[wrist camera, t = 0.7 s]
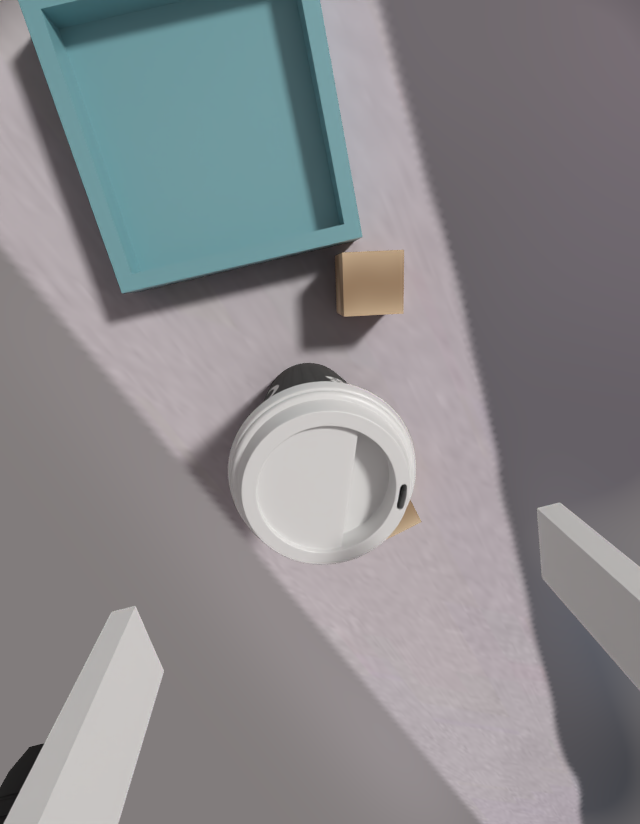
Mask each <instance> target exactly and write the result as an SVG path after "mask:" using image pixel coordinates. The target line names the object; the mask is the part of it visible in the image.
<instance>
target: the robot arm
mask: <svg viewBox="0 0 640 824" xmlns="http://www.w3.org/2000/svg"><path fill="white" fill-rule="evenodd" d="M537 517H538V530H539V543H540V558H541V571H542V579H543V580H544V581H545V582H546V583H547V584H548V585H549V587H550V588H551V589H552V590H553V591H554V592H555V594H556V595H557V596H558V597H559V598H560V599H561V600H562V601H563V603H564V604H565V605H566V606H567V607H568V609H570V611H571V612H572V613H573V614H574V615H575V617H576V618H577V619H578V620H579V621H580V622H581V623H582V625H583V626H584V627H585V628H586V629H587V630H588V632H589V633H590V634H591V635H592V636H593V637H594V638H595V639H596V641H597V642H598V643H599V644H600V645H601V646H602V647H603V649H604V650H605V651H606V652H607V653H608V654H609V656H610V657H611V658H612V659H613V660H614V661H615V663H616V664H617V665H618V666H619V667H620V668H621V670H622V671H623V672H624V673H625V674H626V675H627V676H628V678H629V679H630V680H631V681H632V682H633V683H634V684H635V686H636V687H637V688H638V689H639V690H640V567H639V566H638V565H637V564H636V563H634V562H633V561H632V560H631V559H629V558H628V557H627V556H625V555H624V554H623V553H622V552H620V551H619V550H618V549H617V548H616V547H614V546H613V545H612V544H611V543H609V542H608V541H607V540H606V539H604V538H603V537H602V536H601V535H600V534H598V533H597V532H596V531H595V530H593V529H592V528H591V527H590V526H588V525H587V524H586V523H584V522H583V521H582V520H581V519H580V518H578V517H577V516H576V515H575V514H573V513H572V512H571V511H570V510H568V509H567V508H566V507H565V506H564V505H562V504H561V503H556V504H552V505H548V506H544V507H540V508H537ZM163 672H164V670H163V668H162V665H161V663H160V661H159V659H158V656H157V654H156V652H155V649H154V647H153V645H152V643H151V640H150V638H149V636H148V634H147V631H146V629H145V627H144V624H143V622H142V620H141V618H140V615H139V613H138V611H137V609H136V606H133V607H129V608H125V609H121V610H117V611H113V612H111V614H110V616H109V618H108V620H107V622H106V624H105V626H104V628H103V630H102V632H101V634H100V636H99V637H98V639H97V641H96V643H95V645H94V647H93V649H92V651H91V653H90V655H89V657H88V659H87V661H86V663H85V665H84V667H83V669H82V671H81V673H80V675H79V677H78V679H77V681H76V683H75V685H74V687H73V689H72V690H71V692H70V695H69V696H68V699H67V700H66V702H65V704H64V706H63V708H62V710H61V712H60V714H59V716H58V718H57V720H56V722H55V724H54V726H53V728H52V730H51V732H50V734H49V735H48V737H47V740H46V742H45V743H44V744H40V745H36V746H32V747H29V749H28V750H27V751H26V752H25V753H24V754H23V756H22V757H21V758H20V759H19V760H18V762H17V763H16V764H15V765H14V767H13V768H12V769H11V770H10V771H9V773H8V774H7V776H6V778H5V780H4V782H3V783H2V785H1V787H0V824H118V822H119V819H120V816H121V812H122V809H123V806H124V802H125V799H126V796H127V792H128V789H129V786H130V782H131V779H132V776H133V772H134V769H135V766H136V762H137V759H138V756H139V752H140V749H141V746H142V742H143V739H144V736H145V732H146V729H147V725H148V722H149V719H150V716H151V712H152V709H153V706H154V702H155V699H156V696H157V692H158V689H159V686H160V682H161V679H162V676H163Z"/></svg>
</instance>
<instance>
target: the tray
mask: <svg viewBox="0 0 640 824" xmlns="http://www.w3.org/2000/svg"><path fill="white" fill-rule="evenodd" d="M18 1H19V4H20V7H21V10H22V13H23V16H24V18H25V21H26V24H27V27H28V30H29V33H30V35H31V38H32V41H33V44H34V47H35V49H36V52H37V55H38V58H39V61H40V64H41V66H42V69H43V72H44V75H45V78H46V81H47V83H48V86H49V89H50V92H51V95H52V97H53V100H54V103H55V106H56V109H57V112H58V114H59V117H60V120H61V123H62V126H63V129H64V131H65V134H66V137H67V140H68V143H69V145H70V148H71V151H72V154H73V157H74V160H75V162H76V165H77V168H78V171H79V174H80V177H81V179H82V182H83V185H84V188H85V191H86V193H87V196H88V199H89V202H90V205H91V208H92V210H93V213H94V216H95V219H96V222H97V225H98V227H99V230H100V233H101V236H102V239H103V241H104V244H105V247H106V250H107V253H108V256H109V258H110V261H111V264H112V267H113V270H114V273H115V275H116V278H117V281H118V284H119V287H120V289H121V292H122V293H132V292H139V291H143V290H148V289H152V288H156V287H160V286H165V285H169V284H173V283H177V282H182V281H186V280H190V279H194V278H199V277H203V276H207V275H212V274H216V273H220V272H224V271H229V270H233V269H237V268H241V267H246V266H250V265H254V264H258V263H263V262H267V261H271V260H275V259H280V258H284V257H288V256H292V255H297V254H301V253H305V252H309V251H314V250H318V249H322V248H326V247H331V246H335V245H339V244H343V243H348V242H352V241H356V240H357V239H359V238H361V237H362V232H361V226H360V221H359V215H358V210H357V204H356V199H355V193H354V187H353V182H352V176H351V171H350V165H349V160H348V154H347V148H346V143H345V137H344V132H343V126H342V121H341V115H340V110H339V104H338V98H337V93H336V87H335V82H334V76H333V71H332V65H331V59H330V54H329V48H328V43H327V37H326V32H325V26H324V20H323V15H322V9H321V4H320V0H18Z"/></svg>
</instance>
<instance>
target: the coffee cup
mask: <svg viewBox="0 0 640 824" xmlns="http://www.w3.org/2000/svg"><path fill="white" fill-rule="evenodd" d="M415 476H416V462H415V452H414V447H413V443H412V440H411V437H410V434H409V432H408V430H407V428H406V426H405V424H404V423H403V421H402V420H401V418H400V417H399V415H398V414H397V413H396V412H395V411H394V410H393V409H392V408H391V407H390V406H389V405H388V404H387V403H386V402H385V401H383V400H382V399H381V398H379V397H378V396H376V395H375V394H373V393H371V392H369V391H367V390H365V389H362V388H360V387H357V386H354V385H350V384H348V383H347V382H346V381H345V380H343V379H342V378H341V377H340V376H339V375H337V374H336V373H335V372H334V371H332V370H331V369H329V368H327V367H325V366H323V365H319V364H314V363H303V364H298V365H295V366H292V367H290V368H288V369H286V370H285V371H283V372H282V373H281V374H280V375H279V376H278V377H277V378H276V379H275V381H274V382H273V384H272V385H271V387H270V389H269V392H268V394H267V396H266V398H265V400H264V402H263V403H262V404H260V405H259V406H258V407H257V408H256V409H255V410H254V411H253V412H252V413H251V414H250V415H249V416H248V417H247V419H246V420H245V421H244V423H243V424H242V426H241V427H240V429H239V431H238V432H237V434H236V437H235V439H234V441H233V444H232V447H231V450H230V455H229V460H228V482H229V488H230V492H231V495H232V498H233V501H234V504H235V506H236V509H237V511H238V513H239V514H240V516H241V518H242V519H243V521H244V522H245V523H246V525H247V526H248V527H249V529H250V530H251V531H252V532H253V533H254V534H255V535H256V536H257V537H258V538H259V539H261V540H262V541H263V542H264V543H265V544H266V545H267V546H268V547H270V548H271V549H272V550H274V551H275V552H277V553H279V554H281V555H282V556H284V557H287V558H289V559H292V560H295V561H298V562H302V563H308V564H317V565H326V564H336V563H342V562H346V561H349V560H352V559H355V558H358V557H360V556H362V555H364V554H366V553H368V552H370V551H371V550H373V549H375V548H376V547H377V546H379V545H380V544H381V543H382V542H384V541H385V540H386V539H387V538H388V537H389V536H390V535H391V533H392V532H393V531H394V530H395V528H396V527H397V526H398V524H399V523H400V521H401V519H402V517H403V515H404V513H405V510H406V508H407V506H408V504H409V501H410V498H411V495H412V492H413V488H414V483H415Z"/></svg>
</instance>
